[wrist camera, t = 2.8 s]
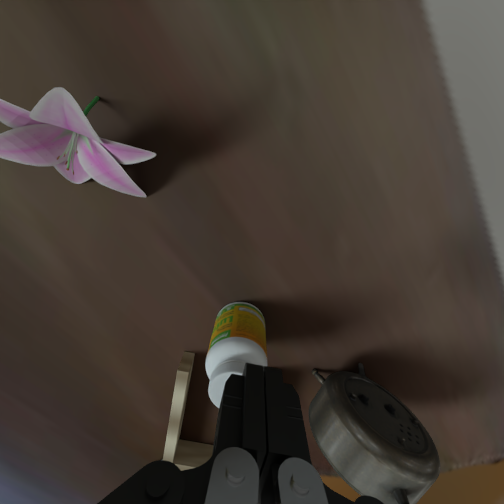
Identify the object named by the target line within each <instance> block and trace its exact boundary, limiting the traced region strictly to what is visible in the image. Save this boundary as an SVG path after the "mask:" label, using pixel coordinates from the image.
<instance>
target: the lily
mask: <svg viewBox="0 0 504 504" xmlns="http://www.w3.org/2000/svg"><path fill="white" fill-rule="evenodd" d="M99 99H100V98H99V97H98V96H96V97H95V98H94V99H93V100H92V101H91V103H90V104H89V105H88V106H87V107H86V109H85V110H84V112H83V111H82V110H81V108H80V107H79V105H78V104H77V102H76V101H75V99H74V98H73V97H72V95H71V94H70V93H69V92H67V91H66V90H65V89H64V88H54V89H52V90H50V91H49V92H47V93H46V95H45V96H44V97H43V98H42V99H41V100H40V101H39V102H38V103H37V105H36V106H35V107H34V108H33V110H32V111H31V112H30V111H27V110H25V109H22V108H20V107H18V106H15V105H13V104H11V103H8V102H6V101H4V100H2V99H0V121H1V122H2V123H4V124H5V125H7V126H9V127H11V128H13V129H12V130H8V131H6V132H4V133H1V134H0V158H3V159H6V160H10V161H14V162H18V163H22V164H27V165H33V166H54V167H55V169H56V170H57V171H58V172H59V173H60V174H61V175H62V176H64V177H65V178H66V179H67V180H69V181H70V182H72V183H76V184H80V183H83V182H86V181H87V180H89V179H90V178H92V179H94V180H95V181H97V182H98V183H100V184H102V185H104V186H106V187H108V188H111V189H113V190H116V191H119V192H122V193H126V194H129V195H133V196H138V197H147V196H146V194H145V193H144V192H143V191H142V190H141V189H140V188H139V187H138V186H137V185H136V184H135V183H134V182H133V181H132V179H131V178H130V177H129V176H128V175H127V173H126V172H125V171H124V170H123V168H122V167H121V166H120V165H119V164H124V165H126V164H134V163H139V162H143V161H146V160H149V159H151V158H153V157H155V156H156V154H155V153H154V152H151V151H147V150H143V149H140V148H136V147H132V146H129V145H125V144H121V143H118V142H114V141H111V140H107V139H104V138H101V137H98V135H97V134H96V132H95V131H94V130H93V128H92V126H91V125H90V123H89V121H88V120H87V118H86V115H87V114H88V112H89V111H90V109H91V108H92V107H93V106H94V105H95V104H96V103H97V102H98V100H99Z"/></svg>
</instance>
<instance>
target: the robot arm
mask: <svg viewBox="0 0 504 504" xmlns="http://www.w3.org/2000/svg"><path fill="white" fill-rule="evenodd" d="M98 504H384V503H383V502H381V501H380V500H378V499H377V498H374V497H372V496H367V495H364V496H361V497H358V498H357V499H356V501H355V502H353V501H351V500H349V499H347V498H345V497H343V496H342V495H340V494H338V493H336V492H334V491H333V490H331V489H330V488H329V487H327V486H326V485H325V484H324V483H323V482H322V479H321V477H320V475H319V474H318V472H317V471H316V469H315V468H314V467H313V466H312V463H311V459H310V454H309V448H308V443H307V438H306V432H305V427H304V421H303V416H302V411H301V405H300V400H299V395H298V394H297V392H296V391H295V389H294V387H293V386H292V385H291V384H286V383H283V377H282V370H281V369H278V368H273V367H267V366H262V365H256V364H251V363H245V366H244V370H243V374H242V375H237V374H231V375H230V377H229V378H228V379H227V381H226V382H225V386H224V390H223V395H222V399H221V403H220V407H219V412H218V419H217V425H216V432H215V439H214V445H213V452H212V456H211V458H210V459H209V460H208V461H207V462H206V463H204V464H203V465H201V466H199V467H196V468H192V469H187V470H183V471H181V470H180V469H179V468H178V467H177V466H176V465H175V464H174V463H172V462H170V461H166V460H159V461H154V462H151V463H149V464H147V465H146V466H144V467H143V468H142V469H140V470H139V471H138V472H137V473H135V474H134V475H133V476H132V477H130V478H129V479H128V480H127V481H125V482H124V483H123V484H122V485H120V486H119V487H118V488H116V489H115V490H114V491H113V492H111V493H110V494H109V495H108V496H106V497H105V498H104V499H103V500H101V501H100V502H99V503H98Z"/></svg>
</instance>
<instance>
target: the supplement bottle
mask: <svg viewBox="0 0 504 504" xmlns="http://www.w3.org/2000/svg"><path fill="white" fill-rule="evenodd" d="M245 363H251V364H256V365H262V366H267V349H266V332H265V320H264V317H263V314H262V313H261V311H260V310H259V309H258V308H257V307H255V306H254V305H252V304H249V303H246V302H234V303H230V304H228V305H226V306H225V307H224V308H223V309H222V310H221V311H220V312H219V314H218V316H217V318H216V322H215V325H214V329H213V333H212V337H211V341H210V345H209V349H208V353H207V357H206V363H205V367H206V373H207V375H208V378H209V379H210V382H209V388H208V393H209V397H210V399H211V401H212V402H213V404H214V405H215V406H217V407H218V408H219V407H220V403H221V399H222V395H223V390H224V386H225V382H226V381H227V379H228V378H229V377H230V375H231V374H237V375H242V374H243V370H244V366H245Z"/></svg>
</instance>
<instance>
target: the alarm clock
mask: <svg viewBox="0 0 504 504" xmlns="http://www.w3.org/2000/svg"><path fill="white" fill-rule="evenodd" d="M358 368H359V373H358V374H356V373H352V372H347V371H339V372H335V373H333V374H331V375H329V376H328V377H327V379H326V380H325V378H324V377H322V376H321V375H320V374H318V372H317V370H316V369H313V370H312V374H313V375H315V377H316V378H317V380H318V381H319V382H320V383H321V384H322V387H321V388H320V390H319V391H318V393H317V394H316V396H315V398H314V399H313V401H312V402H311V404H310V407H309V422H310V426H311V430H312V433H313V435H314V438H315V440H316V442H317V444H318V446H319V448H320V450H321V451H322V453H323V454H324V456H325V458H326V459H327V460H328V462H329V463H330V464H331V466H332V467H333V468H334V470H335V471H336V472H337V473H338V474H339V476H341V478H342V479H343V480H344V481H345V482H346V483H347V484H349V486H351V487H352V488H353V489H354V490H355V491H356V492H357V493H359V494H360V495H361V496H364V495H367V496H372V497H374V498H377V499H378V500H380V501H381V502H383V503H384V504H416V503H417V502H418V500H419V499H420V498H421V497H422V496H423V495H424V494H425V492H426V491H427V490H428V489H429V488H430V486H431V485H432V484H433V483H434V482H435V481H436V479H437V478H438V476H439V473H440V460H439V456H438V452H437V449H436V447H435V444H434V442H433V440H432V438H431V437H430V435H429V434H428V432H427V430H426V429H425V428H424V426H423V425H422V424H421V422H420V421H419V420H418V419H417V417H416V416H415V415H414V414H413V413H412V412H411V411H410V410H409V409H408V408H407V407H406V406H405V405H404V404H403V403H402V402H401V401H400V400H399V399H398V398H396V397H395V396H394V395H393V394H391V393H390V392H389V391H388V390H386V389H385V388H383V387H382V386H380V385H379V384H377V383H375V382H374V381H372V380H370V379H368V378H367V377H366V376H365V372H364V367H363V364H362V363H359V364H358Z"/></svg>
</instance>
